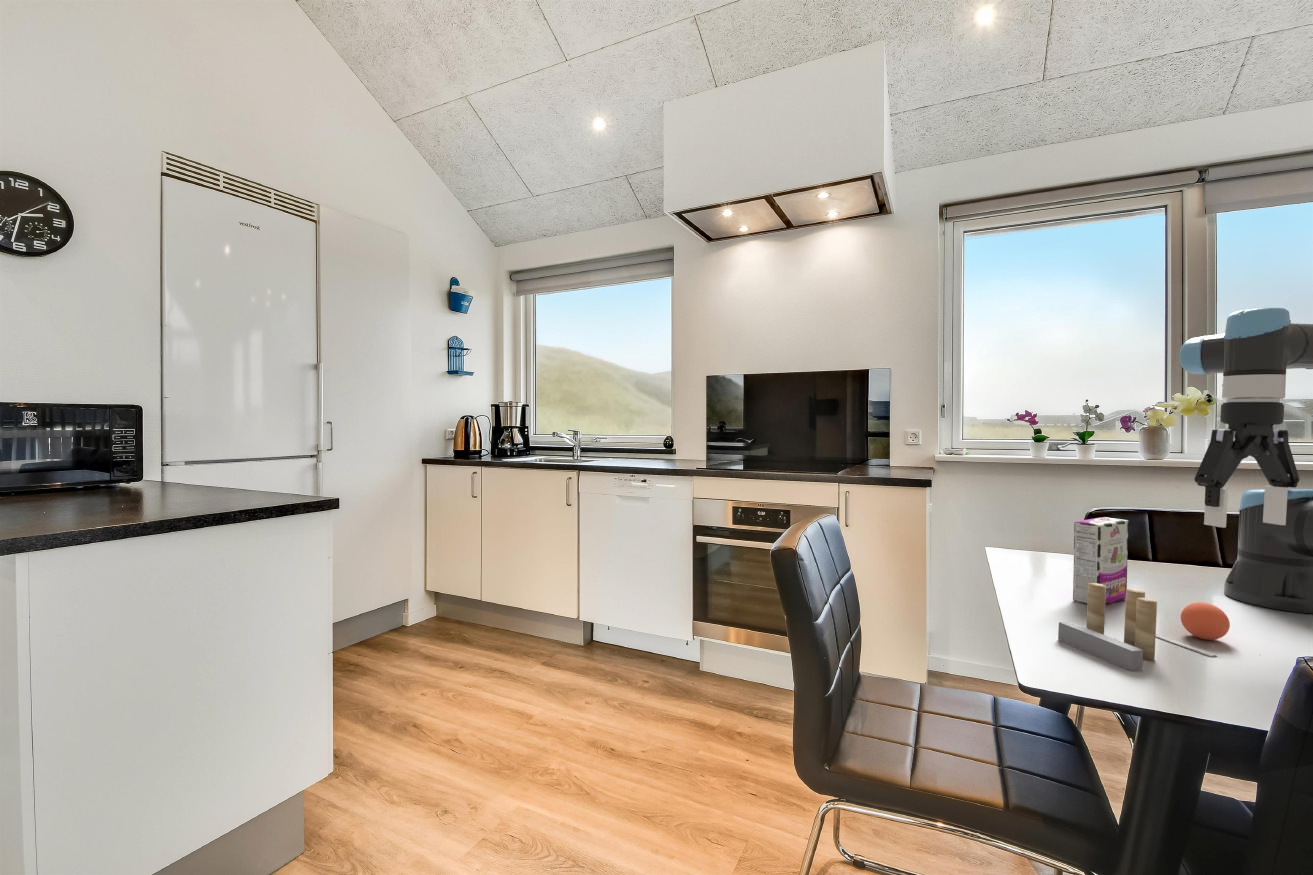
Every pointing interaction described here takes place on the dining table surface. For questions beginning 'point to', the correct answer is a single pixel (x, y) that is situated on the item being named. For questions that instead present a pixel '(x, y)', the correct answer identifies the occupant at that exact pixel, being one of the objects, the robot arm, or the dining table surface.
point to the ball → (1205, 621)
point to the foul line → (1185, 646)
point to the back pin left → (1146, 627)
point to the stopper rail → (1101, 645)
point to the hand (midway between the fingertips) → (1244, 525)
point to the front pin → (1131, 614)
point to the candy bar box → (1100, 557)
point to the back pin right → (1096, 607)
